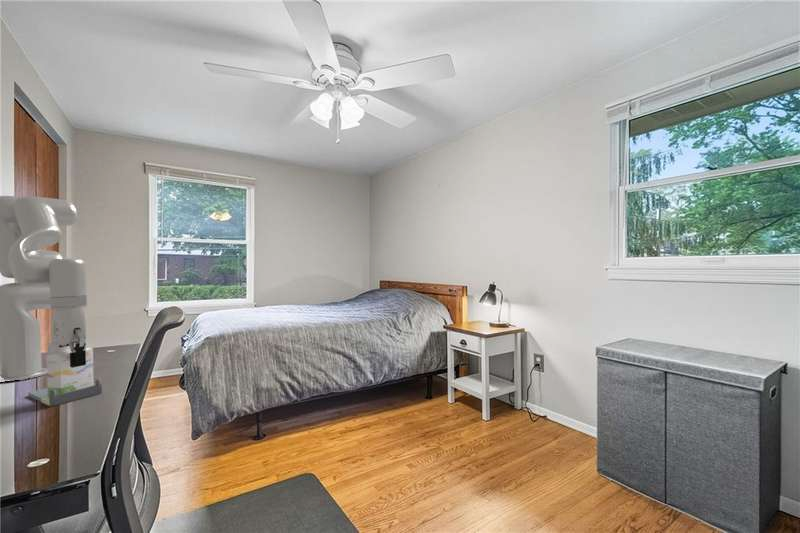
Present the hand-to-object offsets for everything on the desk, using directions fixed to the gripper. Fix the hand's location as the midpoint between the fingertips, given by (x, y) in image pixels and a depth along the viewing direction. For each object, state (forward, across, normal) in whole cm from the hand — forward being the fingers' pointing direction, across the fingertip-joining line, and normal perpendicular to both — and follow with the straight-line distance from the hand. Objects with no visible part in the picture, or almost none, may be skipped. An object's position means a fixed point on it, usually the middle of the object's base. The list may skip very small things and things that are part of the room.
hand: (70, 364), depth 100 cm
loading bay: (+9, -4, 0) cm, 10 cm away
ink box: (+8, 0, 0) cm, 8 cm away
